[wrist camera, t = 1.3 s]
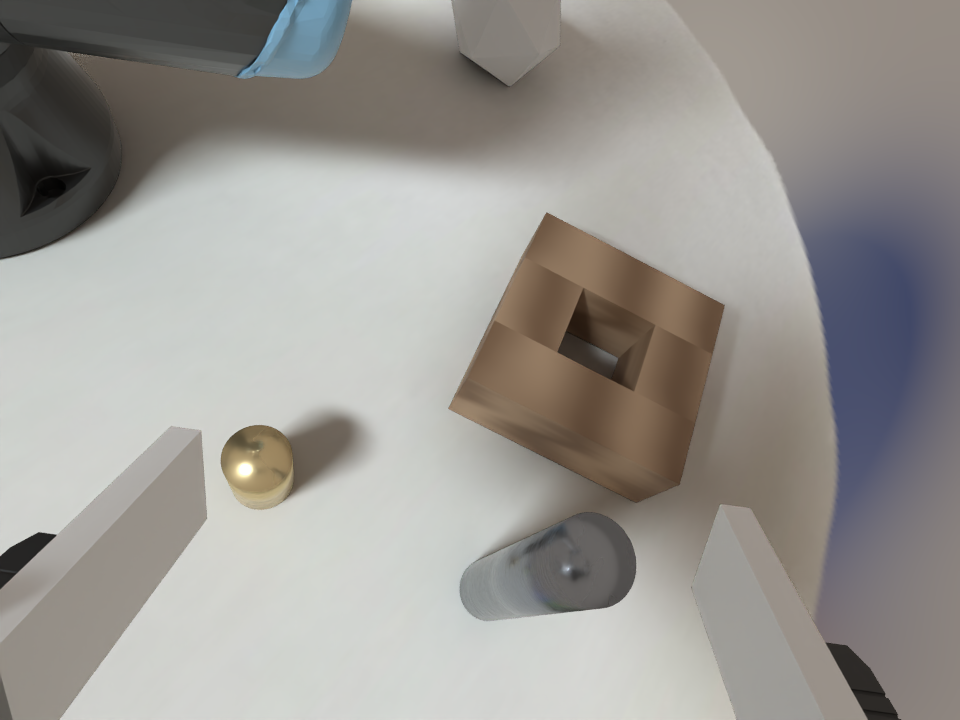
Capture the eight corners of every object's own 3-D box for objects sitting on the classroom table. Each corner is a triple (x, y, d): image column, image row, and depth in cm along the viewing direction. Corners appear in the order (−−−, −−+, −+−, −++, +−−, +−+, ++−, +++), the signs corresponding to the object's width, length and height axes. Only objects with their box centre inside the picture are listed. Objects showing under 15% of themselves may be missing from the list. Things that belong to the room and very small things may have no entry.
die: (559, 76, 53) (560, -58, 48) (560, 93, 46) (561, -62, 41) (466, 81, 54) (457, -50, 49) (452, 99, 47) (440, -52, 42)
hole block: (448, 408, 37) (467, 377, 33) (522, 255, 44) (546, 212, 39) (636, 502, 38) (679, 484, 34) (682, 338, 44) (724, 305, 40)
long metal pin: (454, 565, 34) (540, 521, 21) (508, 553, 35) (620, 505, 22) (466, 627, 33) (565, 618, 20) (522, 613, 34) (648, 596, 21)
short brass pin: (228, 455, 33) (218, 430, 29) (290, 446, 34) (288, 421, 30) (233, 514, 32) (223, 496, 28) (296, 503, 33) (295, 485, 29)
